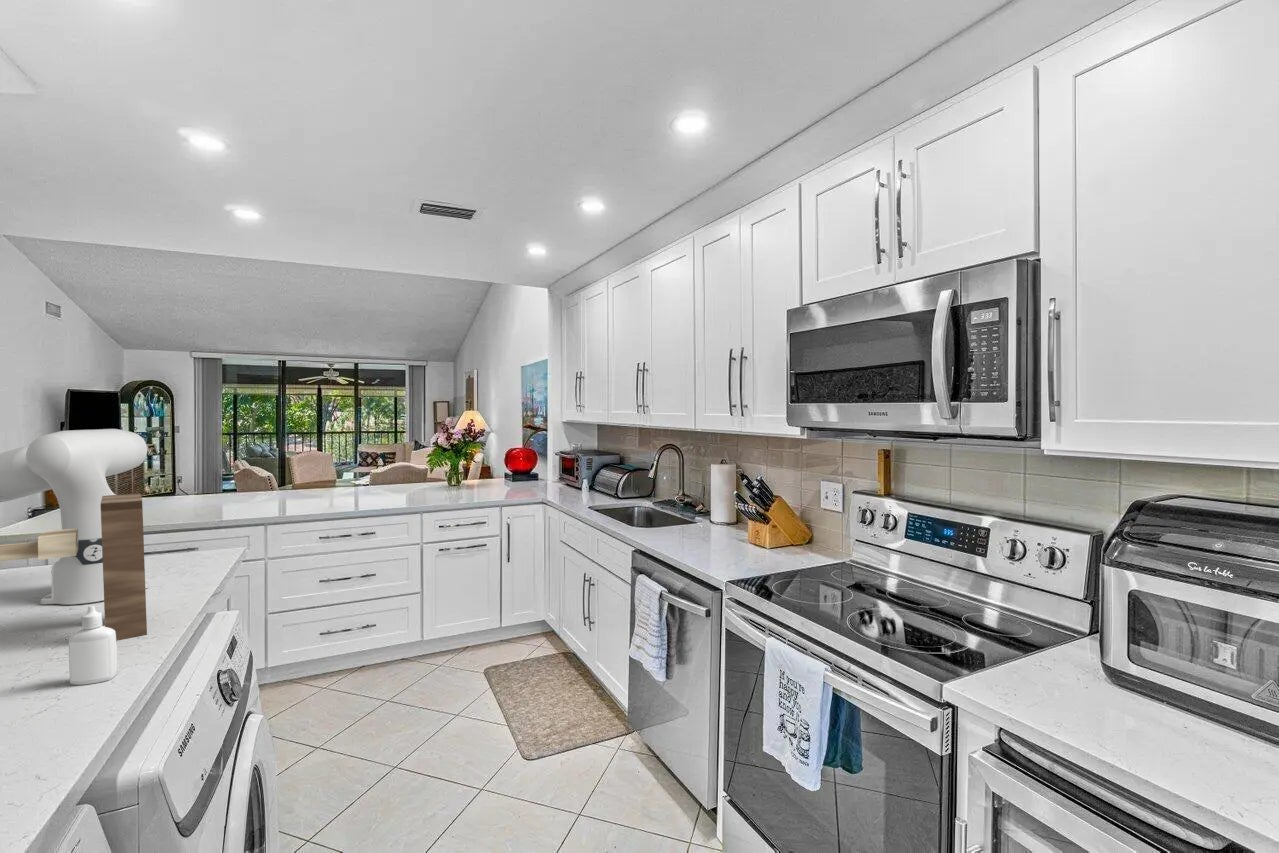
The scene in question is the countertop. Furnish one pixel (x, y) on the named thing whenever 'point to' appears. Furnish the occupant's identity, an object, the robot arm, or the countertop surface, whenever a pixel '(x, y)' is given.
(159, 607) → the countertop surface
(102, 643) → the eye dropper bottle
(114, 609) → the walnut shelf
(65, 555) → the wooden mallet
